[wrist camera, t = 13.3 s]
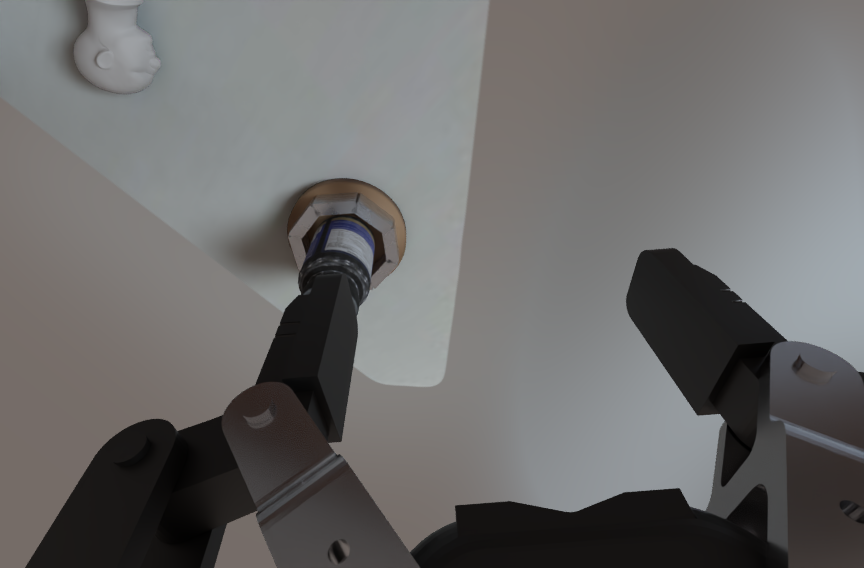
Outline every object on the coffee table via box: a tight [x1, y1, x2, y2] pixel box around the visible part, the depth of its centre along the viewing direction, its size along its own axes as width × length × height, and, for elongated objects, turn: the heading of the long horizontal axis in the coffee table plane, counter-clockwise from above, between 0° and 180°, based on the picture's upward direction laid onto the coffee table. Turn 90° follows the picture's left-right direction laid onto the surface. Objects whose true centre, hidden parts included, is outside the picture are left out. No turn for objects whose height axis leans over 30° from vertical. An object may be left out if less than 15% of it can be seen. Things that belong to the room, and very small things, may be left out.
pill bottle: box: [298, 215, 375, 316], centre depth 36 cm, size 6×6×11 cm
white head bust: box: [73, 0, 161, 94], centre depth 29 cm, size 4×8×5 cm
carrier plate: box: [287, 178, 406, 290], centre depth 40 cm, size 12×12×4 cm
